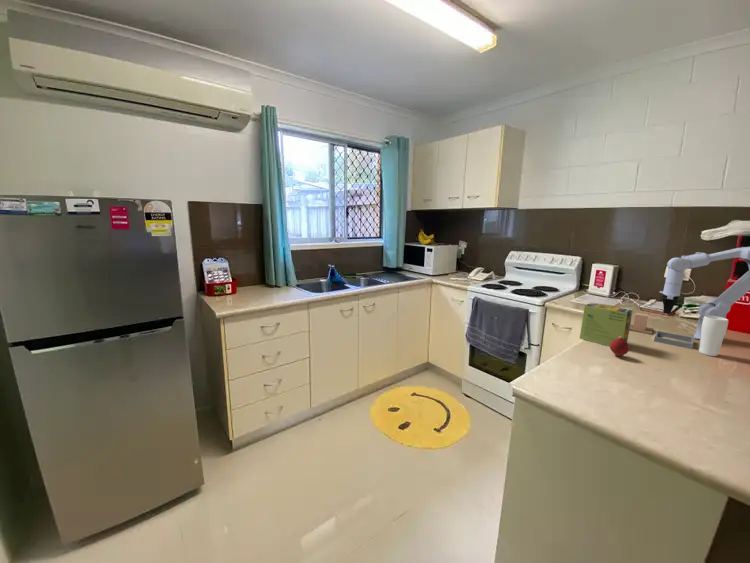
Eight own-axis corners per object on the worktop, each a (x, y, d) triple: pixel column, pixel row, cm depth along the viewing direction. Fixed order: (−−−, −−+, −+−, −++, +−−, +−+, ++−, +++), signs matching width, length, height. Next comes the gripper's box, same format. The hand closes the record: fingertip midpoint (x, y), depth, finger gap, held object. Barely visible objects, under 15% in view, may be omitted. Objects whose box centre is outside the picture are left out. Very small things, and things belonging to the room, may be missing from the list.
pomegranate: (625, 355, 123) (628, 335, 122) (629, 360, 118) (632, 340, 117) (607, 352, 126) (610, 332, 124) (610, 357, 121) (613, 337, 119)
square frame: (656, 334, 148) (656, 330, 148) (692, 341, 140) (693, 337, 139) (654, 341, 140) (654, 336, 139) (692, 348, 131) (693, 344, 131)
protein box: (621, 349, 129) (628, 312, 126) (579, 338, 140) (583, 305, 138) (627, 343, 136) (633, 308, 133) (586, 334, 147) (591, 301, 144)
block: (634, 326, 158) (636, 312, 157) (645, 328, 155) (648, 314, 154) (633, 328, 155) (635, 314, 154) (645, 330, 152) (647, 316, 150)
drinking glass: (725, 358, 122) (734, 321, 120) (704, 356, 124) (713, 319, 121) (711, 351, 129) (719, 316, 126) (691, 350, 130) (699, 314, 127)
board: (627, 325, 162) (628, 323, 162) (653, 330, 155) (653, 328, 155) (624, 329, 155) (625, 327, 155) (651, 334, 148) (652, 333, 148)
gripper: (662, 280, 155) (657, 307, 157) (660, 283, 144) (654, 312, 147) (682, 282, 150) (676, 310, 152) (682, 286, 140) (675, 316, 142)
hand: (667, 311), depth 149 cm, fingers open, 7 cm apart
